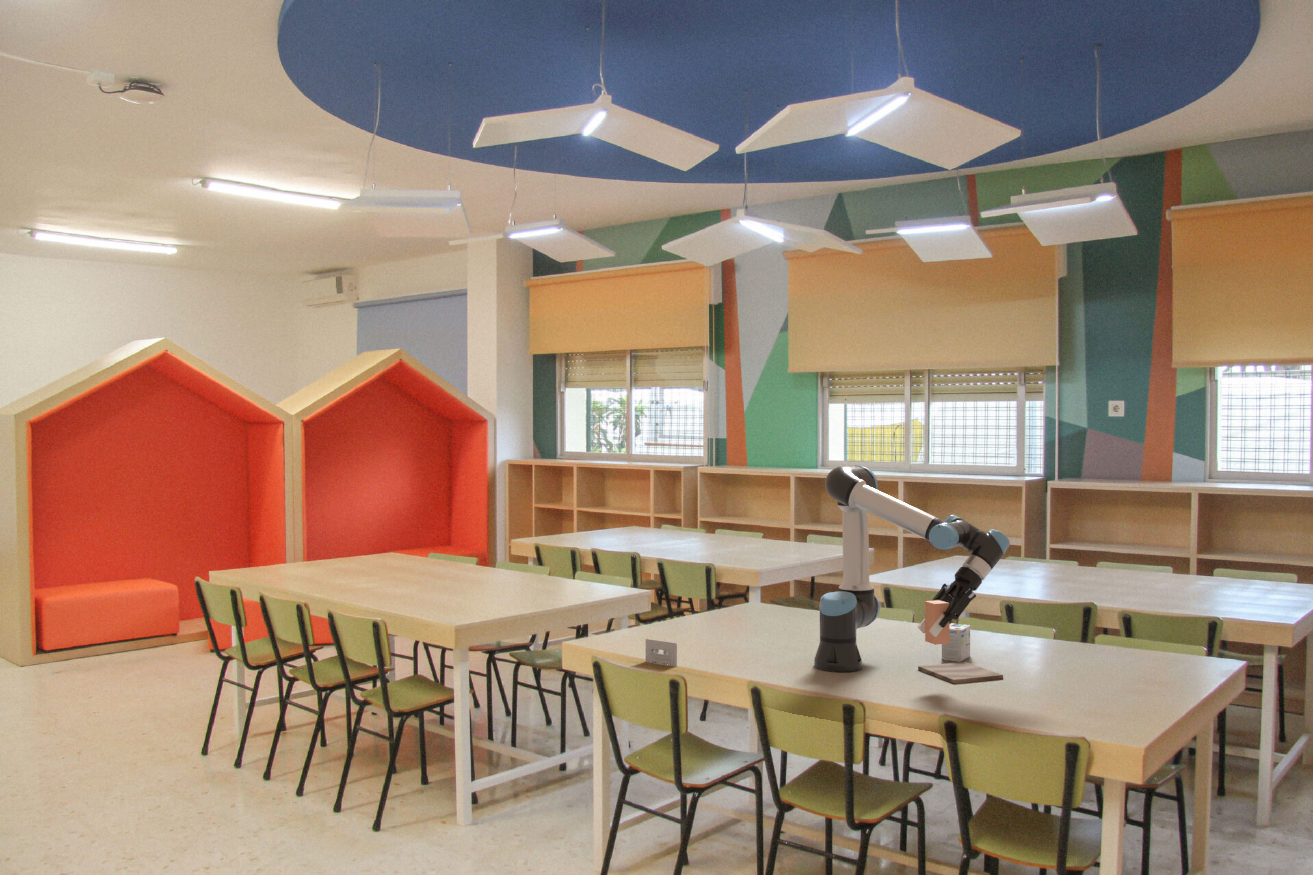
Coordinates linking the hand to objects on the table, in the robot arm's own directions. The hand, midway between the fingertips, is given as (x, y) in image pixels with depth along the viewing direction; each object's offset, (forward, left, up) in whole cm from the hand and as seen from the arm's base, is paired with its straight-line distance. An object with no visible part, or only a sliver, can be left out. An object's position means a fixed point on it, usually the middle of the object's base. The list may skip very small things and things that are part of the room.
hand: (926, 631), depth 271 cm
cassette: (-52, -66, -16) cm, 85 cm away
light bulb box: (-28, +31, -16) cm, 45 cm away
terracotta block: (0, +4, -3) cm, 5 cm away
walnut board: (-9, +18, -16) cm, 26 cm away
